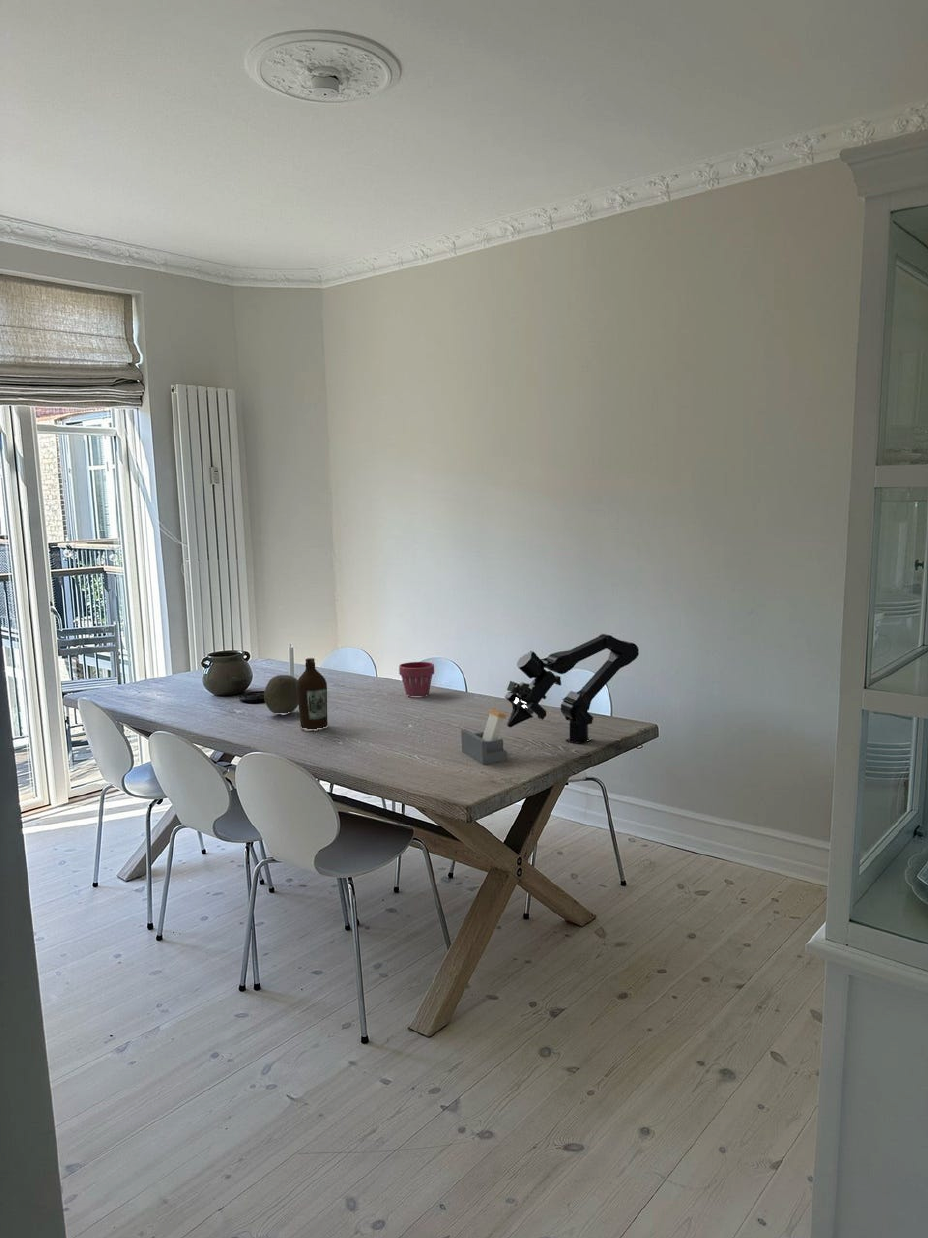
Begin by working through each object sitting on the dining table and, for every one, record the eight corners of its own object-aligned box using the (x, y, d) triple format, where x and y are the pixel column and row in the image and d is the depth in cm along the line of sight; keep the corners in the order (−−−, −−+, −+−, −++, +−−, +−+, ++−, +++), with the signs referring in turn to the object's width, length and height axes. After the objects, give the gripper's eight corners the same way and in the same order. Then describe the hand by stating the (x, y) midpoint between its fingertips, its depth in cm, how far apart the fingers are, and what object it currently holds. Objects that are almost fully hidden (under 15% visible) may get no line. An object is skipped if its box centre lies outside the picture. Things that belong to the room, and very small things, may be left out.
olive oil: (294, 727, 310) (289, 658, 306) (321, 722, 315) (317, 655, 312) (306, 733, 301) (301, 662, 297) (334, 728, 306) (330, 658, 303)
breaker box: (485, 747, 275) (484, 726, 274) (507, 760, 261) (506, 738, 260) (462, 751, 272) (461, 729, 271) (482, 764, 258) (481, 741, 257)
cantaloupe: (299, 718, 324) (296, 678, 322) (261, 719, 324) (258, 680, 322) (306, 709, 338) (304, 671, 336) (270, 710, 338) (267, 672, 336)
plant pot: (442, 693, 356) (440, 662, 354) (422, 700, 344) (421, 669, 343) (413, 690, 364) (412, 660, 362) (393, 697, 352) (391, 666, 350)
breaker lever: (487, 741, 270) (497, 710, 270) (496, 746, 264) (506, 715, 264) (480, 739, 269) (490, 708, 269) (489, 744, 263) (499, 713, 263)
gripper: (509, 666, 277) (478, 704, 274) (536, 676, 260) (504, 717, 257) (532, 688, 281) (502, 725, 278) (560, 699, 264) (528, 739, 261)
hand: (508, 726), depth 269 cm, fingers closed
